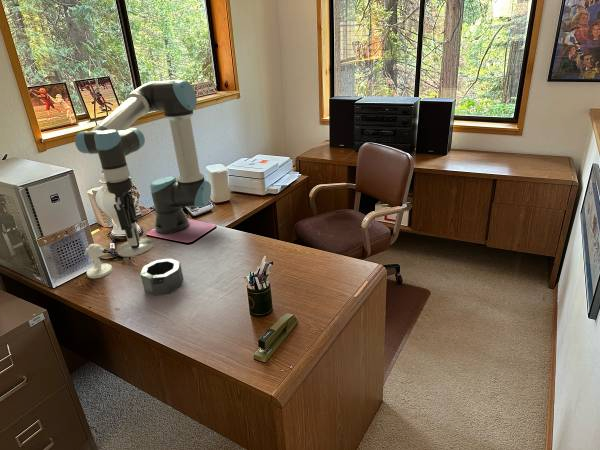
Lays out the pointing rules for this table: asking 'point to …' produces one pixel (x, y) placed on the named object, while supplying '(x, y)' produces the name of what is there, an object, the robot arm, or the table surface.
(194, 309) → the table surface
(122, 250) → the black peg on disc
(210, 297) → the table surface
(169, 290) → the pot
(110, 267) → the figurine
